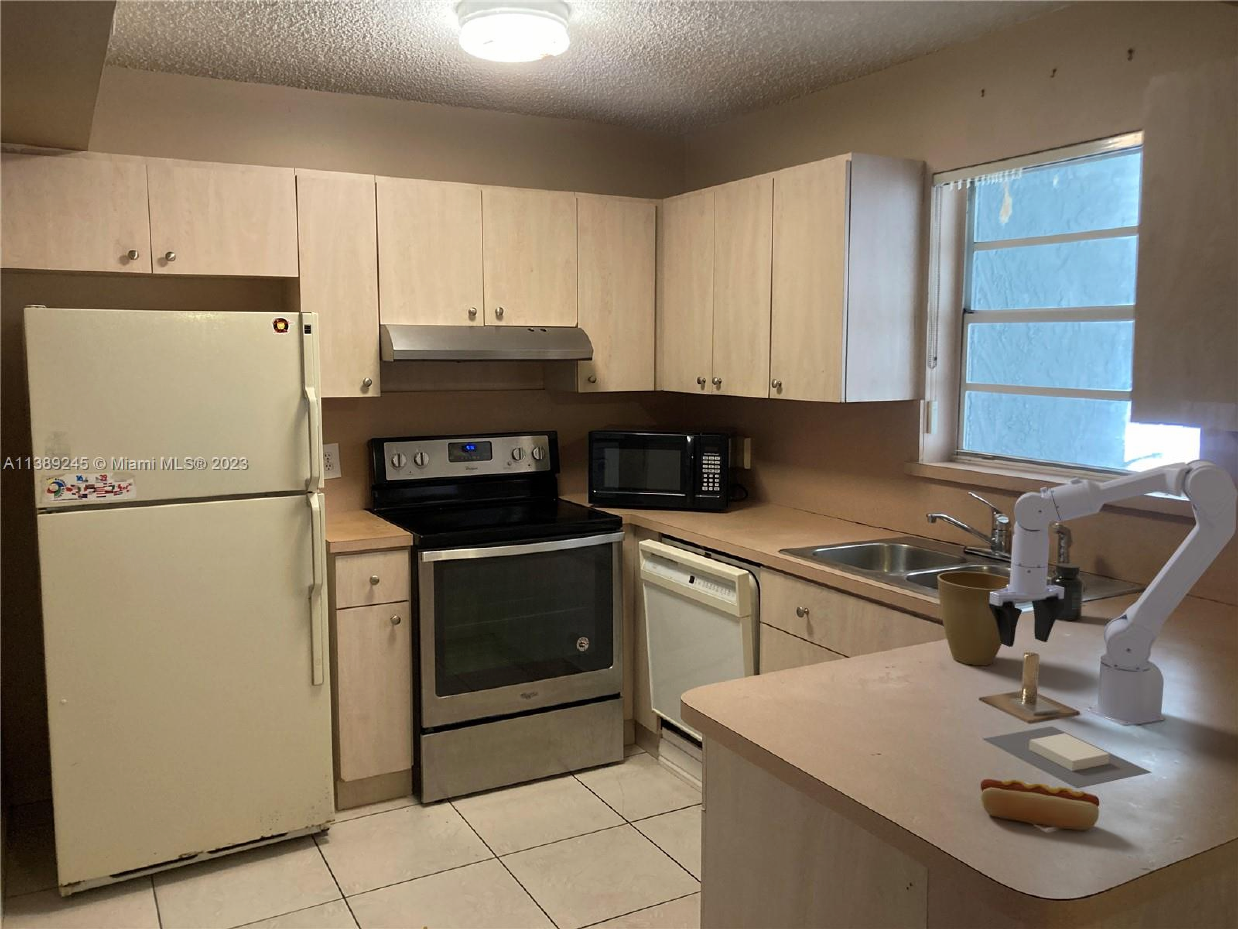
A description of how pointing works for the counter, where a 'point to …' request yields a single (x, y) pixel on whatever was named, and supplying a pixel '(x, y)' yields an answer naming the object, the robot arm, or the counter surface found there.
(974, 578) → the plant pot
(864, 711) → the counter surface
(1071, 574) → the supplement bottle
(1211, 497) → the robot arm
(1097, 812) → the food
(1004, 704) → the board
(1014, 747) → the mat
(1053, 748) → the tile
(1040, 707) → the stamp with brass handle
